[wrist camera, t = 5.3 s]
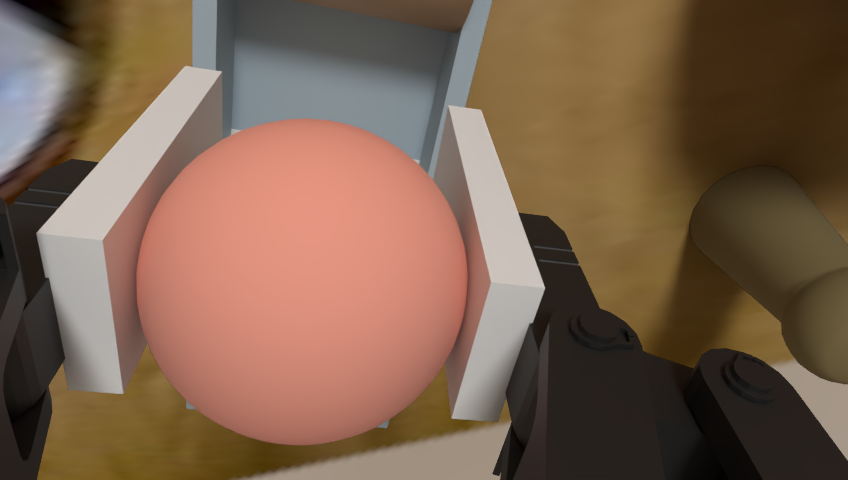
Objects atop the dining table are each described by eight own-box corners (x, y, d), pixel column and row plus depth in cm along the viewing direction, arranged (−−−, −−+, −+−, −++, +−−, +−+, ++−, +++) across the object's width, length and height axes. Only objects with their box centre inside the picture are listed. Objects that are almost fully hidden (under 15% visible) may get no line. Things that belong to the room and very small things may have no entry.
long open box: (509, -193, 23) (555, -207, 17) (387, 336, 37) (386, 436, 31) (239, -265, 21) (176, -310, 15) (219, 315, 36) (183, 416, 29)
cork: (726, 276, 36) (842, 425, 27) (668, 219, 33) (774, 360, 24) (820, 210, 34) (983, 348, 24) (765, 143, 31) (923, 268, 22)
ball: (428, 312, 13) (447, 525, 9) (193, 289, 13) (99, 509, 8) (477, 97, 11) (536, 258, 7) (183, 52, 10) (40, 202, 6)
